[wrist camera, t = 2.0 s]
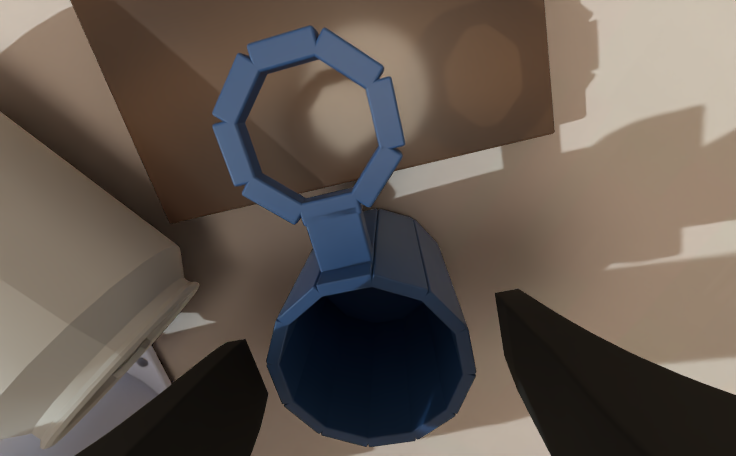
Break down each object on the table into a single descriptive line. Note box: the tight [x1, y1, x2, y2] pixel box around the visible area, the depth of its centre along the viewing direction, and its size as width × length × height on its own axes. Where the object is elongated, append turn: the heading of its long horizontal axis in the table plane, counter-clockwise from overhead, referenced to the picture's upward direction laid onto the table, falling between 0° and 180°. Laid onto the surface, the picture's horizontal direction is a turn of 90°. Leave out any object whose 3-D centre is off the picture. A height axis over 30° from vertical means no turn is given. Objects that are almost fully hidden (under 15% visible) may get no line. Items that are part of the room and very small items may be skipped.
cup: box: [212, 25, 476, 447], centre depth 11 cm, size 11×5×6 cm, turn 14°
